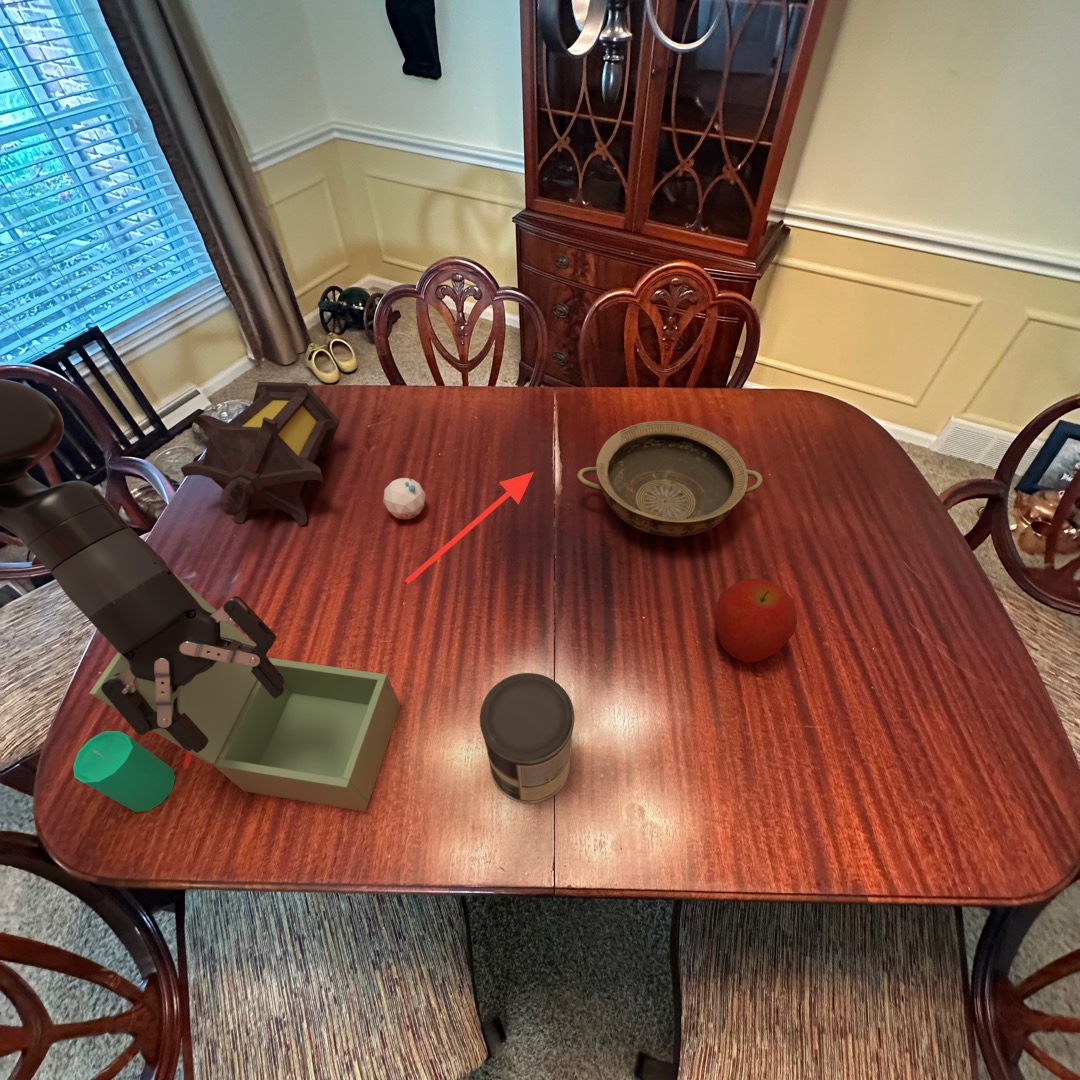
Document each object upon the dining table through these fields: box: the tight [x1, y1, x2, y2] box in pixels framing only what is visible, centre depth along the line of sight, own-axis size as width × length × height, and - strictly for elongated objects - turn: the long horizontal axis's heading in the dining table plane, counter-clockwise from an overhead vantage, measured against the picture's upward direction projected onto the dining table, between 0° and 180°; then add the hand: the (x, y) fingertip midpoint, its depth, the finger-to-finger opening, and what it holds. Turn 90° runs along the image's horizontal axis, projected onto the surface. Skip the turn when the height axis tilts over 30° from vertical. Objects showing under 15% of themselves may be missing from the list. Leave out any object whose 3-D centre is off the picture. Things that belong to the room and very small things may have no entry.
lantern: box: [180, 381, 340, 528], centre depth 100 cm, size 22×23×30 cm
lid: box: [88, 574, 269, 765], centre depth 66 cm, size 17×14×1 cm
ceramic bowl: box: [576, 420, 764, 538], centre depth 100 cm, size 30×24×10 cm
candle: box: [72, 730, 176, 813], centre depth 70 cm, size 6×6×12 cm
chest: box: [212, 657, 401, 813], centre depth 74 cm, size 16×14×9 cm
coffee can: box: [479, 672, 576, 804], centre depth 71 cm, size 10×10×14 cm
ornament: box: [382, 477, 427, 520], centre depth 101 cm, size 7×7×8 cm
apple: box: [713, 578, 798, 663], centre depth 81 cm, size 10×10×14 cm
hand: (242, 720), depth 59 cm, fingers open, 8 cm apart
